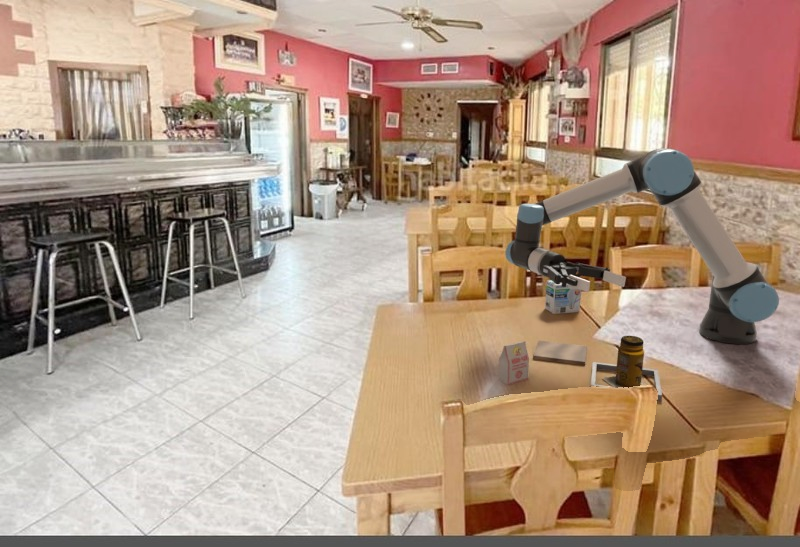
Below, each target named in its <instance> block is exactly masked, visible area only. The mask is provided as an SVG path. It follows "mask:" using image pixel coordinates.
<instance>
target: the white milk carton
mask: <svg viewBox="0 0 800 547" xmlns="http://www.w3.org/2000/svg"><path fill="white" fill-rule="evenodd" d="M529 367H530V357H529V353H528V349H527V344H526V341H525V340H524V341H518V342H516V343H511V344H507V345H503V348H502V351H501V354H500V356H499V358H498V381H500V382H502V383H503V384H505V385H507V386H509V385H514V384H516V383H519V382H523V381H527V380H529Z"/></svg>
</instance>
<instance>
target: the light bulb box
mask: <svg viewBox="0 0 800 547" xmlns="http://www.w3.org/2000/svg"><path fill="white" fill-rule="evenodd" d="M545 287H546V288H545V305H544V309H545V310H547V311H548V312H550V313H552V315H557V314H568V313H579V312H580V311H581V299H582V298H581V297H582V290H580V289H577V288H575V287H572V286H569V285H568V284H566V287H562V282H560V284H555V283H554V282H553V281H552V280H551V279H548V280H546V286H545Z"/></svg>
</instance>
